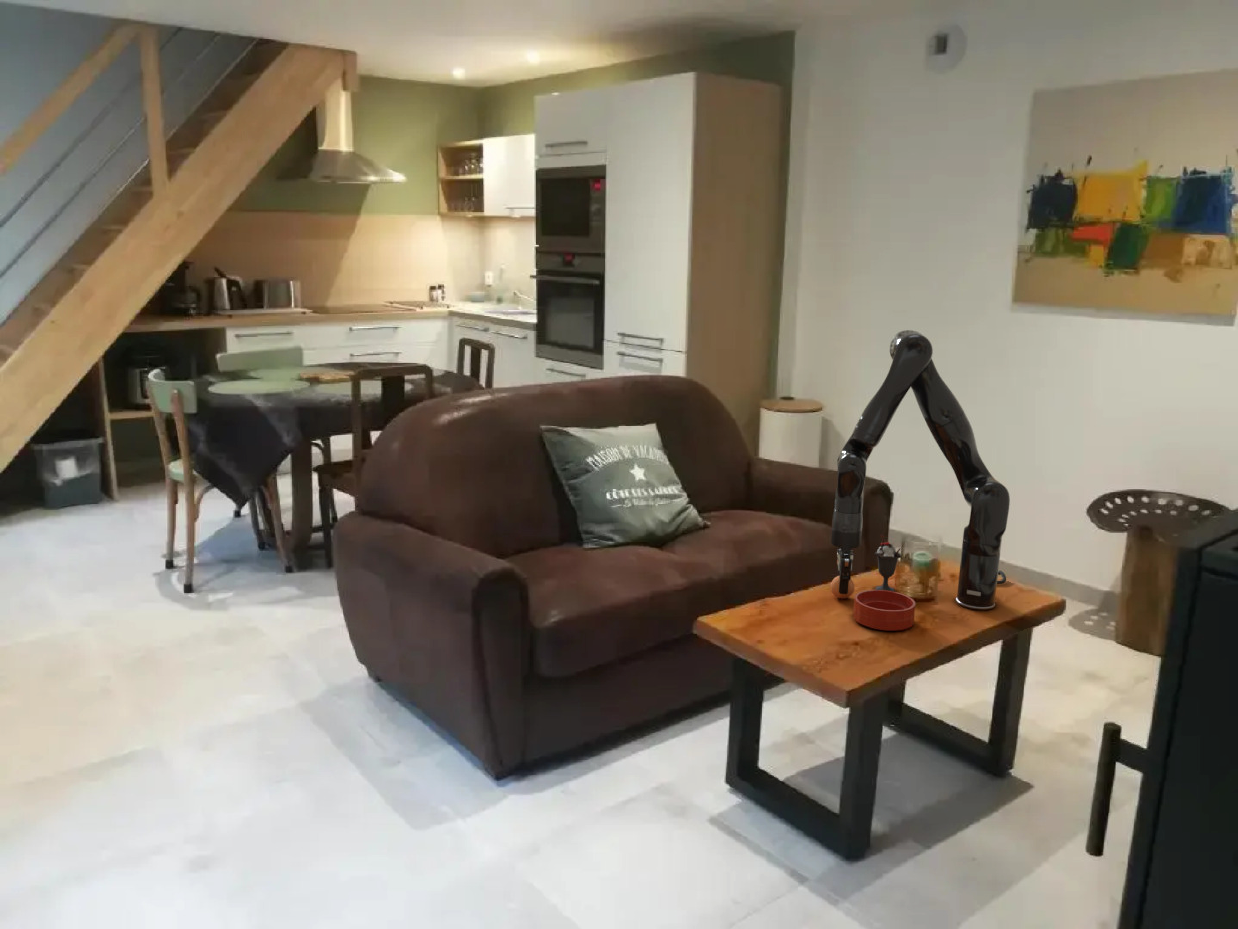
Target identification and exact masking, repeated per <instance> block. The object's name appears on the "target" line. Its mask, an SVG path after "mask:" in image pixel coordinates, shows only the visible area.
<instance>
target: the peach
mask: <svg viewBox="0 0 1238 929" xmlns="http://www.w3.org/2000/svg"><path fill="white" fill-rule="evenodd" d="M843 575H845V574H844V573H843ZM839 577H840V576H838V575H837V576H835V577H834V578H833V579H832V581H831V583H830V590H831V593H832V594H833V596H835V597H836V598H839V599H848V598H850V597H851V596H852V595H854V594H853V593H854V591H855V583H854V581H853V579H852V578H851V579H850V580H849V583H848V593H847V594H840V593H839V582H840V580H839Z"/></svg>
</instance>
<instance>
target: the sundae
mask: <svg viewBox="0 0 1238 929" xmlns="http://www.w3.org/2000/svg"><path fill="white" fill-rule="evenodd" d="M880 537H881V538H882V539H883V540H882V542H880V546H879V547H878V549H877V550H876V551H875V552H874V554H875V555H876V556H877V569H878V573H879V575H880V576H881V577H882V578H883V579H882V580H883V581H882V584H881V585H878V586H875V589H874V590H886V591H893V592H896V591H895V589H894V588H893V587H891V586H889V579H890V578H891V577H893V576H894V574H895V572H896V569H897V563H898V560H899V559H900V558H902V554H901V553H900V551H901V548H898V549H897V551H896V546H894V545H893V544H892V543H890V542H889V541H887V539H886V538H885V537H884V534H883V535H881V534H880Z"/></svg>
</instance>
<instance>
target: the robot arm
mask: <svg viewBox="0 0 1238 929" xmlns="http://www.w3.org/2000/svg"><path fill="white" fill-rule="evenodd" d="M889 354H890V357H891V360H892V362H891V364H890V366H889V370H888V373H887V375H886V377H885V379H884V381H883V382H882V383H881V386H879V389H878V390H877V392H875V393H874V396H872V398H871V399H870V400H869V402H868V403H867V404H866V406H865V408H864V409H863V411H862V413H861V415H860V417H859V418H858V420H857V423H856V425H855V426H854V428H853V431H852V433H851V435H850V437H849V438H848V439H847V441H846V443H845V444H844V446H843V447H842V449H841V450H840V453H839V454H838V456H837V461H836V465H837V476H836V477H837V479H836V490H835V495H834V507H833V508H834V509H833V512H832V521H831V533H830V534H831V535H830V543H831V545H832V546H834V547H837V548H838V549H836V565H837V568H836V570H837V576H840V577H839V580H840V582H839V593H840V594H847V593H848V583H849V580H850V579H852V578H851V574H852V570H853V560H854V552H853V550H852V549H857V548H859V547H860V546H861V545H862V535H863V524H864V523H863V521H864V519H863V517H864V516H863V510H864V508H863V507H864V489H865V483H866V476H867V462H868V460H869V458H870V456H871V454H872V452H873V450H874V448H875V447H877V446H878V445H879V443H880V442H881V441H882V438H883V437H884V434H885V433H886V431H887V429H888V427H889V426H890V424H891V421H892V419H893V417H894V416H895V414H896V412H897V410H898V409H899V406H900V405H901V403H902V401H903V399H904V398H905V397H906V395H907V393H908V392H909V390H910V389H911V390H912V392H913V395H914V397H915V400H916V402H917V405H918V407H919V410H920V412H921V415H922V417H923V419H924V421H925V423H926V426H927V429H928V430H929V432H930V433H931V435H932V438H933V439H934V441H935V443H936V445H937V446H938V448H939V449H940V451H941V453H942V454H943V456H944V458H945V459H946V460H947V462H948V463H949V465H950V466H951V469H952V470H953V473H954V475H955V477H956V481H957V482H958V484H959V488H960V491H961V493H962V495H963V498H964V500H965V502H966V504H967V505H968V506H969V507H970V513H969V514H970V515H969V521H968V524H967V525H966V526H965V527H964V528H963V533H962V543H961V544H962V545H961V554H960V562H959V573H958V581H957V592H956V598H955V602H956V603H957V604H958V605H959V606H961V607H963V608H967V609H971V610H977V611H978V610H979V611H985V610H986V611H988V610H991V609H994V608H995V606H996V595H997V594H996V593H997V588H998V585H1002V584H1005V583H1006V581H1007V576H1006V574H1005V572H1004V571H1002V570H999V569H1000V560H1001V549H1002V541H1003V536H1004V535H1005V532H1006V530H1007V524H1008V518H1009V512H1010V505H1011V504H1010V502H1011V497H1010V492H1009V490H1008V488H1007V487H1006V486H1005V485H1004V484H1003V483H1001V482H1000V481H998V480H997V479H996V478H995V477H994V476H993V475H992V473H991V472H990V471H989V469H988V468H987V465H986V464H985V462H984V461H983V459H982V457H981V455H980V454H979V450H978V447H977V442H976V436H975V433H974V430H973V427H972V424H971V422H970V420H969V418H968V416H967V414H966V412H965V411H964V409H963V407H962V405H961V404H960V402H959V400H958V399H957V398H956V395H955V394H954V393H953V391H952V390H951V388H949V386H948V385H947V384H946V382H945V381H944V380H943V378H942V377H941V376H940V373H939V372H938V370H937V367H936V366H935V362H934V360H933V354H934V348H933V345H932V343H931V341H930V340H929V338H927V337H926V335H924V334H922V333H920V332H919V331H917V330H911V329H906V330H905V329H904V330H901V331H898V332H897V333H896V334H895V335H894V336H893V337H892V339H891V341H890V345H889ZM843 573H844V574H845V575H843ZM999 576H1001V577H1002V579H1001V580H998V578H999Z"/></svg>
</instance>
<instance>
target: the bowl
mask: <svg viewBox="0 0 1238 929" xmlns="http://www.w3.org/2000/svg"><path fill="white" fill-rule="evenodd" d="M853 599H854V600H853V614H852V616H853V619H854V621H855V622H857V623H858V624H860V625H862V626H864V627H868V628H871V629H875V630H878V631H879V630H880V631H888V632H891V631H894V632H895V631H902V630H907V629H909V628H911V627H912V626H914V622H915V615H916V614H915V613H916V601H915V600H914V599H913V598H912V597H910V596H908V595H906V594H903V593H901V592H897V591H894V592H893V591H886V590H876V589H867V590H862V591H860V592H858V593H856V594H855V595H854V598H853Z"/></svg>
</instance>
